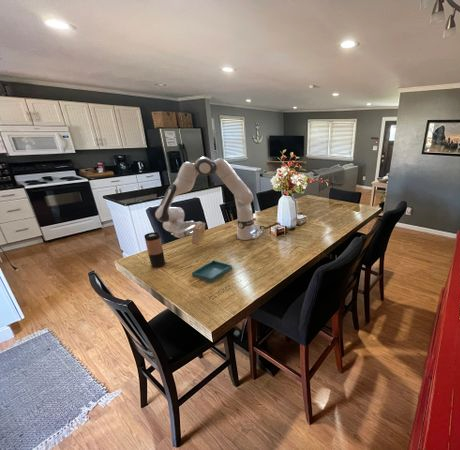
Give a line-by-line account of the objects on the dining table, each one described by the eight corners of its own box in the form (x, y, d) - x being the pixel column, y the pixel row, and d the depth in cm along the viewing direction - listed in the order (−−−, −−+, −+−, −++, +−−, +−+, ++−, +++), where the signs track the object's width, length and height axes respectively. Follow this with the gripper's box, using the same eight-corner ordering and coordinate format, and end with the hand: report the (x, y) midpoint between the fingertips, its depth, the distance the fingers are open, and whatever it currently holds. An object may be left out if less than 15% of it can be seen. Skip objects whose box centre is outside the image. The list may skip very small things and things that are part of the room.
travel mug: (149, 265, 145) (142, 234, 138) (163, 260, 150) (156, 231, 143) (153, 269, 140) (146, 238, 133) (167, 264, 145) (161, 234, 138)
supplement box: (198, 245, 155) (199, 229, 148) (191, 243, 155) (192, 227, 148) (204, 238, 162) (205, 222, 155) (197, 236, 162) (198, 220, 155)
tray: (213, 263, 147) (213, 260, 146) (232, 268, 141) (231, 265, 140) (192, 276, 133) (192, 272, 132) (211, 282, 128) (211, 278, 127)
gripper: (168, 229, 152) (183, 232, 146) (194, 219, 169) (208, 222, 164) (169, 238, 154) (185, 242, 149) (195, 228, 172) (209, 231, 166)
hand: (197, 231), depth 156 cm, fingers closed on supplement box, 6 cm apart
